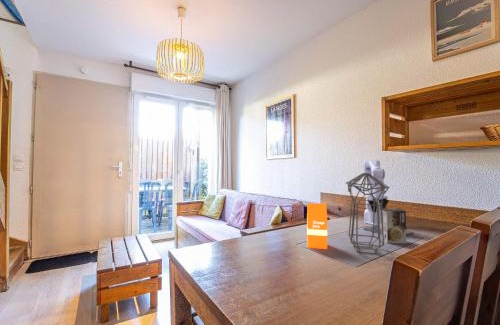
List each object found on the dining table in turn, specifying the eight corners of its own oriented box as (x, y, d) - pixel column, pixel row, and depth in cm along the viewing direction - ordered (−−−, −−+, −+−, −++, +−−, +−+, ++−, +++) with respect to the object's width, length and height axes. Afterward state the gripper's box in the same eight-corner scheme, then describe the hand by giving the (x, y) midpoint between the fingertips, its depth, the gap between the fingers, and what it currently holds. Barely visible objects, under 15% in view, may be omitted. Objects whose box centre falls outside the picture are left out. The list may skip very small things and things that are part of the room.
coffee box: (399, 239, 122) (399, 208, 122) (406, 244, 115) (406, 210, 115) (381, 239, 123) (381, 208, 123) (387, 243, 116) (386, 210, 116)
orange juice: (327, 249, 108) (327, 205, 108) (307, 247, 110) (307, 204, 110) (325, 243, 116) (325, 202, 116) (306, 242, 117) (306, 201, 118)
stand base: (363, 229, 141) (363, 221, 141) (383, 226, 149) (383, 218, 149) (393, 237, 125) (393, 228, 125) (413, 233, 133) (413, 225, 133)
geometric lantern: (379, 246, 112) (380, 172, 112) (389, 259, 97) (391, 174, 96) (343, 242, 116) (345, 171, 116) (348, 255, 101) (349, 173, 101)
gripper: (376, 189, 136) (376, 213, 135) (392, 189, 142) (392, 212, 142) (365, 189, 142) (365, 211, 142) (381, 188, 149) (381, 210, 148)
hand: (378, 211), depth 142 cm, fingers open, 7 cm apart
